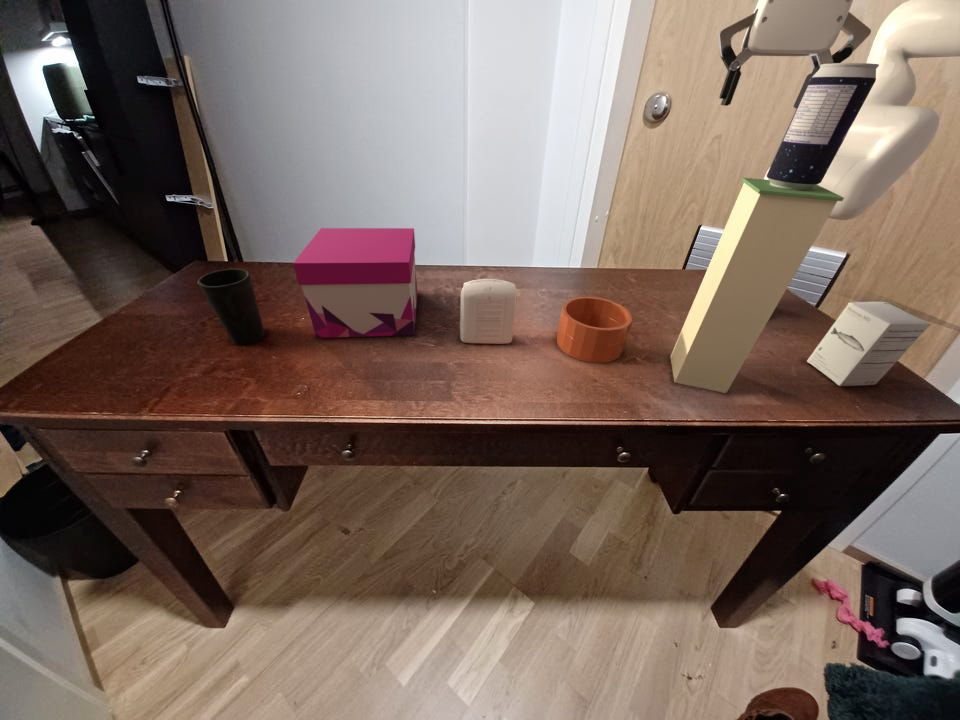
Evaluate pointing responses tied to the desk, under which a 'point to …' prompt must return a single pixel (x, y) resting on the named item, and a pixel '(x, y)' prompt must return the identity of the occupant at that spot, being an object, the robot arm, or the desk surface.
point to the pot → (593, 329)
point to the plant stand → (744, 284)
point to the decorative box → (360, 281)
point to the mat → (814, 192)
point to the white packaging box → (866, 342)
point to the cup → (234, 304)
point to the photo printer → (487, 311)
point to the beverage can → (821, 124)
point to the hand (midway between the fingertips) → (761, 106)
